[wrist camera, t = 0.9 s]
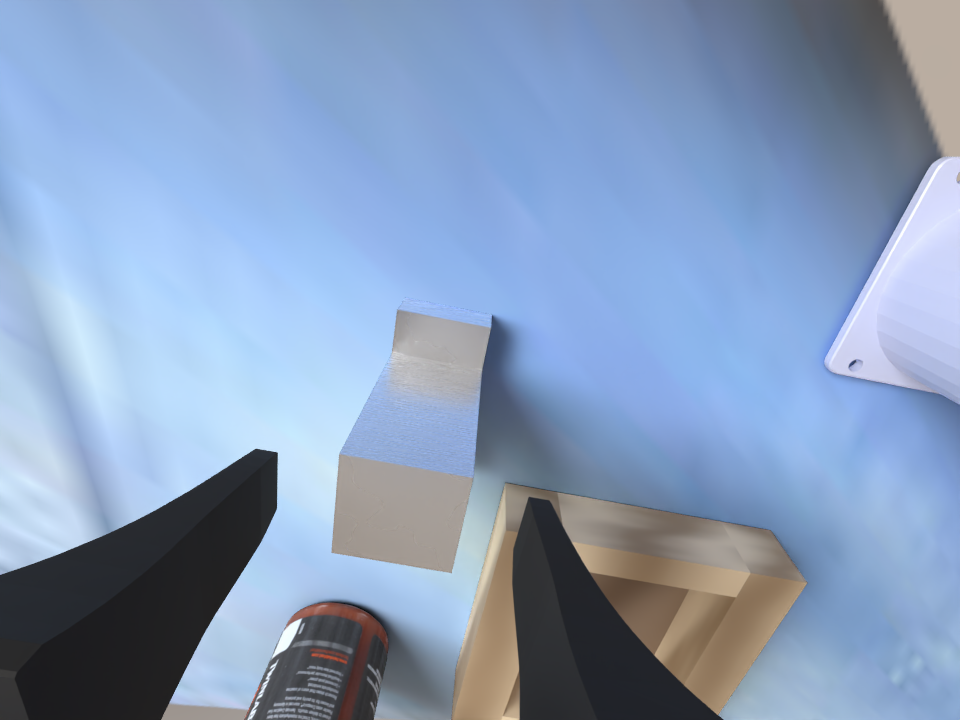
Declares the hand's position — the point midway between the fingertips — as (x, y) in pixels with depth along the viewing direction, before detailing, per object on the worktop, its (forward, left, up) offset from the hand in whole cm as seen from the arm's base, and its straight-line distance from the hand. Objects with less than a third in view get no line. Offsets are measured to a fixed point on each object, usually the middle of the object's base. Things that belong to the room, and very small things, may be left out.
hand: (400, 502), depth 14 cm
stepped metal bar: (0, 0, -7) cm, 7 cm away
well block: (-11, +11, -7) cm, 17 cm away
